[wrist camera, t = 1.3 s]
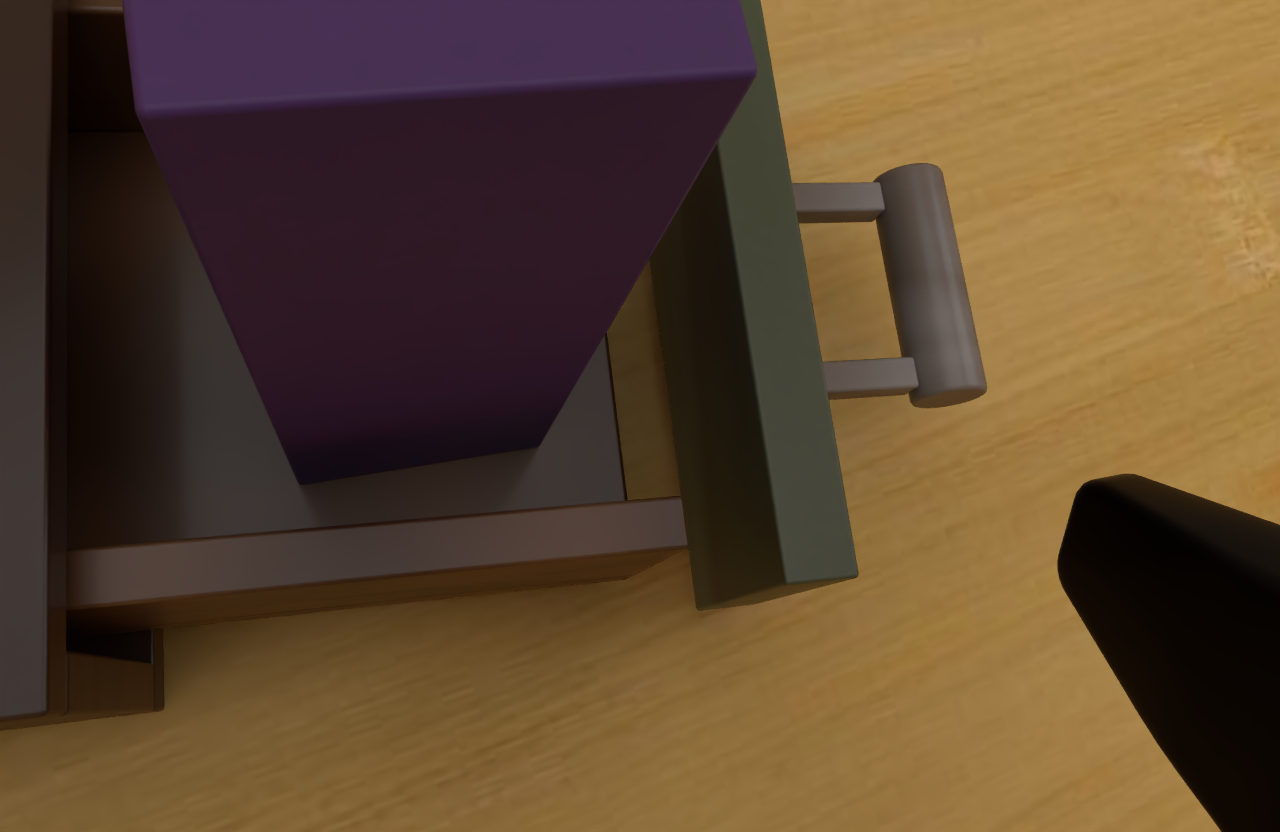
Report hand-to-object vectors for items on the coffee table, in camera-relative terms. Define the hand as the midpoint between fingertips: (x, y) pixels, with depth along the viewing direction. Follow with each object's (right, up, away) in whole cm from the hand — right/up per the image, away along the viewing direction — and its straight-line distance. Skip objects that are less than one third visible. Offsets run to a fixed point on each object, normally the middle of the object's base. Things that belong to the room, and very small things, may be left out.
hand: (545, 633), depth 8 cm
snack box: (-4, +3, +11) cm, 12 cm away
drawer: (-2, +3, +13) cm, 13 cm away
